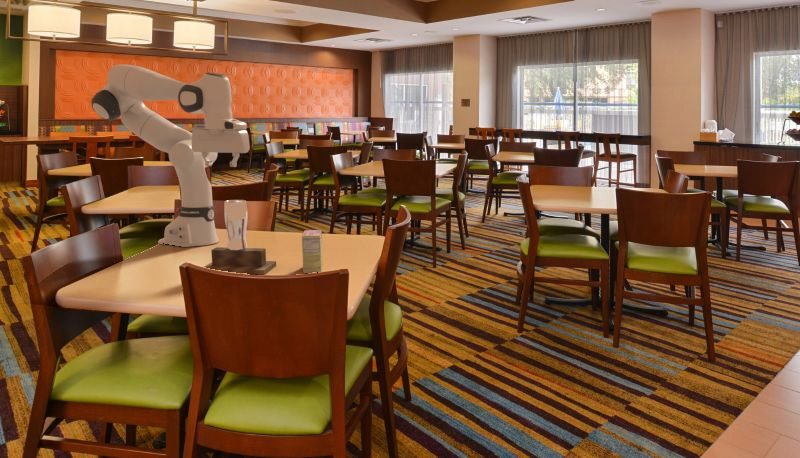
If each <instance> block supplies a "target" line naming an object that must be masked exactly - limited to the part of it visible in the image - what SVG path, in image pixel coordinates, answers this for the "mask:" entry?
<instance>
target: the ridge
mask: <svg viewBox="0 0 800 458" xmlns="http://www.w3.org/2000/svg"><path fill="white" fill-rule="evenodd" d="M266 251H267V250H266V248H265V247H264V248H262V247H258V248H257V247H248V248H247V249H245V250H236V251H234V250H228V247H221V246H220V247H219V246H218V247H214V248H213V249H211V262H210V263H208V264H206V265H205V266H203V267H206V268H210V269H215V270H221V271H228V272H236V273H247V274H258V275H257V276H265V275H266V274H268V273H269V272H270V271H271V270H273V269H274V268H276V267H277V260H267V254H266V253H267V252H266Z"/></svg>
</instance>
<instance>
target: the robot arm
mask: <svg viewBox="0 0 800 458" xmlns="http://www.w3.org/2000/svg"><path fill="white" fill-rule="evenodd" d="M106 79H107V83H106V84H105V85H104V86H103V87H102V88H100V90H99V91H97V92H95V95H93V97H92V99H91V102H90V103H91V107H92V110H93V111H94V112H95V114H97V115H98V117H100V118H101V119H103V120H106V121H109V122H112V121H114V120H116V119H118V118H120V121H121V122H122V123H121V124H123V125H124V126H125V128H126V129H128V130H129V131H130V132H132V133H133V134H134V135H135V136H136V137H138V138H140V139H141V140H143V141H144V142H146V143H148V144H149V145H150V146H153V147H154V148H155V149H157V150H159V151H160V152H164V153H167V154H168V159H169V162H170V163H171V165H172V167H174V170H175V172H176V176H177V177H178V183H179V186H180V197H181V206H180V207H177V208H176V211H175V212H177V213H178V215H177V217H175V218H174V219H173V220H172V221H171V222H170V223H168V225H166V226H165V229H164V237H163V238H161V239H159V240H158V241H157V243H158V244H159V245H165V244H169V245H168V246H172V245H175V246H174V247H179V246H181V247H180V248H189V247H199V246H200V247H201V246H209V245H214V244H217V243H219V241H220V240H219V239H220V238H218V237H219V236H218V235H217V230H216V226H215V206H214V205H213V189H212V183H211V182H210V180H209V179H208V175H207V173H206V168H208V167H212V166H213V163H215V161H216V160H217V158H218V154H219V153H221V154H223V153H224V154H225V153H229V154H231V153H232V154H231V155H232V157H233V158H232V160H230V161H229V167H230V168H236V167H237V165H238V164H237V163H238V160H239V158H240V157H241V156H240V154H246V153H248V152H249V150H250V138H249V133H248V131H247V127H248V126H247V125H248V124H247V123H246V122H244V121H241V120H239V119H236V118H233V111H232V102H233V99H232V98H233V97H232V88H231V83H230V80H229V78H228V76H227V75H225V74H222V73H216V72H205V73H204V74H203V75H202V76H201V78H199V79H197V80H195V81H194V82H191V83H189V82H184V81H180V80H178V79H174V78H172V77H170V76H167V75H164V74H162V73H159V72H156V71H155V70H151V69H148V68H146V67H143V66H138V65H133V64H124V63H123V64H115V65H113V66H112V67H110V69H109V70H108V72H107V75H106ZM146 101H147V102H148V101H149V102H150V101H152V102H155V101H156V102H157V101H178V105H179V106H180V109H182V111H183V112H185V113H188V114H194V115H203V117H204V123H195V124H194V125H193V126H192V128H191V131H188V130H186V129H184V128H182V127H180V126H178V125H176V124H175V123H173V122H171V121H170V120H168V119H166V118H165V117H163V116H162V115H160V114H159V113H157V112H155V111H154V110H151V109H150V108H148V107H147V106H146V105H145V103H144V102H146ZM163 243H164V244H163Z"/></svg>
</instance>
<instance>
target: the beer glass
mask: <svg viewBox="0 0 800 458" xmlns="http://www.w3.org/2000/svg"><path fill="white" fill-rule="evenodd" d="M223 205H224V207H223V208H224V209H223V215H224V223H225V227H226V232H227V239H228V241H227V248H228V250H234V251H236V250H245V249H247V248H249V246H248V243H247V237H246V236H247V235H246V234H247V228H248V227H247V226H248V219H249V217H248V208H247V207H248V205H247V200H244V199H229V200H225V201H224V204H223Z"/></svg>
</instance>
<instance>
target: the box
mask: <svg viewBox="0 0 800 458" xmlns="http://www.w3.org/2000/svg"><path fill="white" fill-rule="evenodd" d="M322 236H323V233H322V229H320V230H319V229H309V230H304V231H303V233H302V235H301V248H302V249H301V251H302V252H301V253H302V273H303V274H304V273H307V274H313V273H312V272H321V271H323V266H324V265H323V264H324V263H323V237H322ZM321 273H322V272H321Z"/></svg>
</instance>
